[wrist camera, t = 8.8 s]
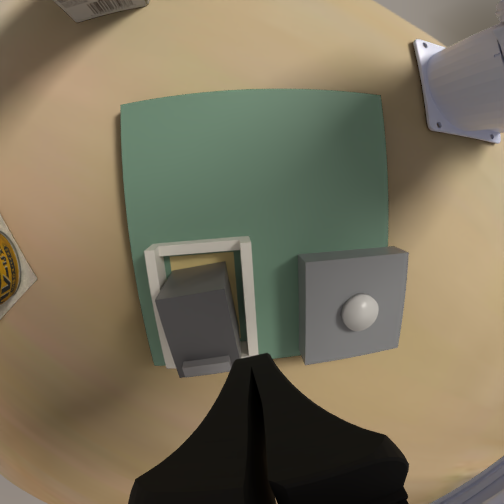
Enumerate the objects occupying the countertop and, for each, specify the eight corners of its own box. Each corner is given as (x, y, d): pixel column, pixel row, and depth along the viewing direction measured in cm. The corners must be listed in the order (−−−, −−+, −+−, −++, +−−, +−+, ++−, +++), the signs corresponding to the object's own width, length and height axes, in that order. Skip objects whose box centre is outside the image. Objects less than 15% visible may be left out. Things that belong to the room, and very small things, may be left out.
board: (374, 98, 18) (394, 88, 15) (374, 335, 22) (390, 354, 19) (125, 108, 17) (109, 97, 14) (157, 358, 21) (148, 381, 18)
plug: (225, 260, 19) (224, 293, 13) (238, 326, 20) (242, 375, 14) (172, 270, 19) (151, 305, 13) (189, 334, 20) (178, 384, 14)
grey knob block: (393, 246, 19) (412, 254, 17) (385, 334, 21) (400, 350, 19) (297, 254, 19) (307, 264, 17) (298, 349, 21) (306, 369, 18)
